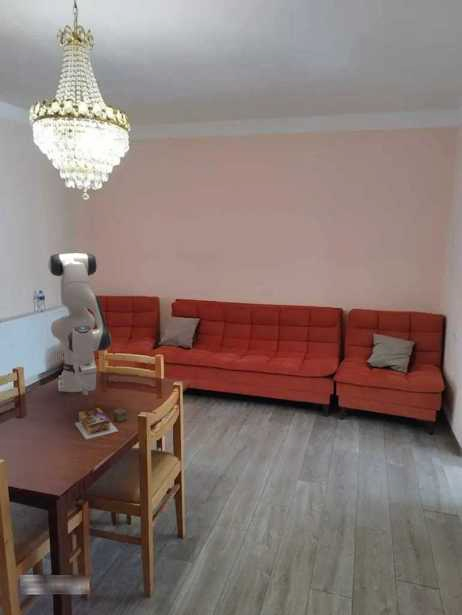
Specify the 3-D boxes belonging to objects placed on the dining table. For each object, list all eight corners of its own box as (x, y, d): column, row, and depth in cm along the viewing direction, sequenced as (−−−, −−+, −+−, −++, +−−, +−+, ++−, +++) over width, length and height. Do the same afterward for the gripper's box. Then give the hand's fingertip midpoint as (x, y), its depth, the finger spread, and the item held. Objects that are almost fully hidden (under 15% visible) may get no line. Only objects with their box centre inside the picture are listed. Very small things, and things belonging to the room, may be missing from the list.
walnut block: (113, 419, 187) (112, 411, 186) (121, 417, 190) (120, 408, 189) (118, 422, 184) (118, 413, 184) (126, 419, 187) (126, 410, 186)
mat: (74, 424, 182) (74, 423, 182) (105, 417, 189) (105, 416, 189) (86, 439, 168) (86, 438, 168) (118, 431, 175) (118, 430, 175)
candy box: (79, 421, 184) (88, 434, 172) (78, 411, 184) (87, 424, 171) (99, 416, 189) (110, 429, 176) (99, 407, 188) (109, 419, 176)
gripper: (70, 358, 193) (71, 388, 195) (83, 371, 176) (84, 403, 178) (84, 356, 196) (86, 385, 198) (98, 368, 179) (99, 400, 182)
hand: (85, 394), depth 188 cm, fingers closed
